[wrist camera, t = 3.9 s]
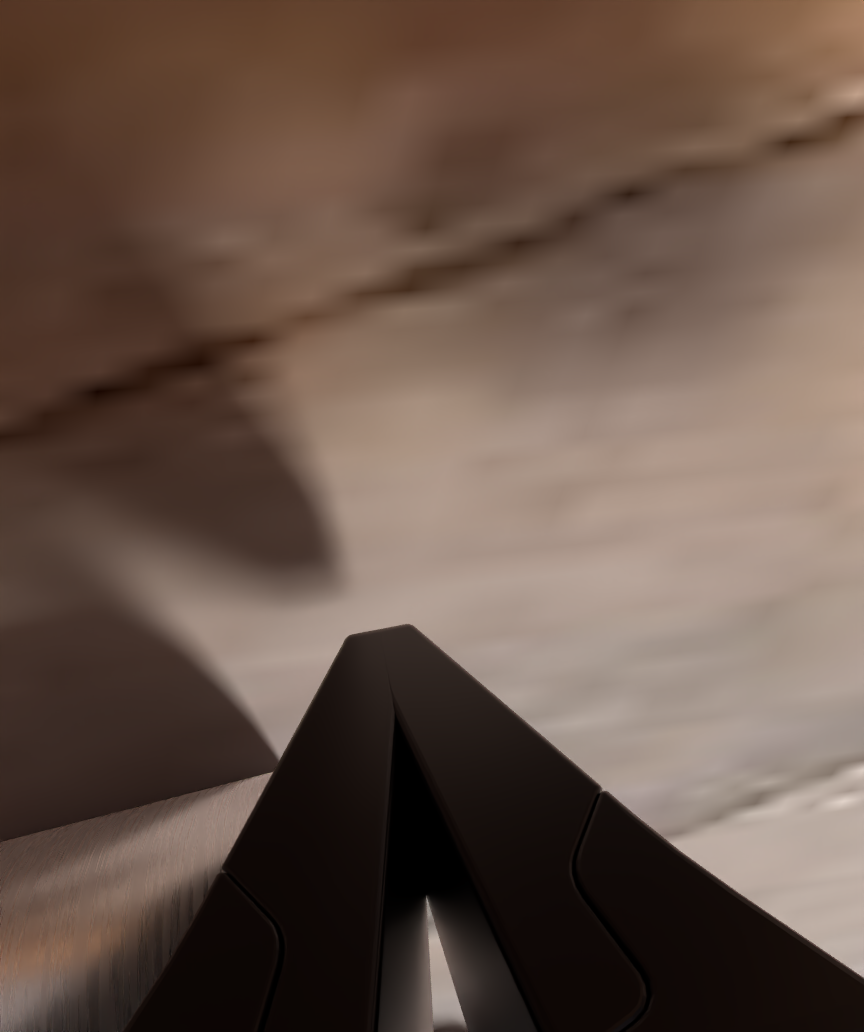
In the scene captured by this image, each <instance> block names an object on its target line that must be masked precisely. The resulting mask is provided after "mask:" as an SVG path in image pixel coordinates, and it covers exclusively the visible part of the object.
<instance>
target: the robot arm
mask: <svg viewBox="0 0 864 1032" xmlns="http://www.w3.org/2000/svg"><path fill="white" fill-rule="evenodd" d="M221 870H222V872H221V873H219V874H217V875H216V877H215V879H214V881H213V883H212V885H211V886H210V888H209V890H208V892H207V894H206V896H205V898H204V899H203V901H202V903H201V905H200V907H199V909H198V910H197V912H196V914H195V916H194V917H193V919H192V921H191V922H190V924H189V926H188V928H187V929H186V931H185V933H184V934H183V936H182V938H181V940H180V941H179V943H178V945H177V946H176V948H175V950H174V952H173V953H172V955H171V957H170V958H169V960H168V962H167V964H166V965H165V967H164V968H163V970H162V971H161V973H160V974H159V976H158V977H157V979H156V981H155V982H154V984H153V985H152V987H151V988H150V990H149V991H148V993H147V994H146V996H145V997H144V999H143V1000H142V1002H141V1003H140V1005H139V1006H138V1008H137V1009H136V1011H135V1013H134V1014H133V1016H132V1017H131V1019H130V1020H129V1022H128V1023H127V1025H126V1026H125V1028H124V1029H123V1031H122V1032H434V1031H433V1013H432V994H431V976H430V958H429V939H428V921H427V903H426V896H427V899H428V902H429V905H430V909H431V912H432V915H433V918H434V922H435V925H436V928H437V931H438V935H439V938H440V941H441V944H442V948H443V951H444V954H445V957H446V961H447V964H448V967H449V970H450V974H451V977H452V980H453V983H454V986H455V990H456V993H457V996H458V999H459V1003H460V1006H461V1009H462V1012H463V1016H464V1019H465V1022H466V1025H467V1029H468V1032H864V978H863V977H862V976H860V975H859V974H857V973H856V972H854V971H853V970H851V969H850V968H848V967H847V966H846V965H844V964H843V963H841V962H840V961H838V960H837V959H835V958H834V957H832V956H831V955H829V954H828V953H826V952H825V951H823V950H822V949H820V948H819V947H818V946H816V945H815V944H813V943H812V942H810V941H809V940H807V939H806V938H804V937H803V936H801V935H800V934H798V933H797V932H795V931H794V930H792V929H791V928H790V927H788V926H787V925H785V924H784V923H782V922H781V921H779V920H778V919H776V918H775V917H773V916H772V915H770V914H769V913H767V912H766V911H764V910H763V909H762V908H760V907H759V906H757V905H756V904H754V903H753V902H751V901H750V900H748V899H747V898H745V897H744V896H742V895H741V894H739V893H738V892H737V891H735V890H734V889H732V888H731V887H730V886H728V885H727V884H725V883H724V882H723V881H721V880H720V879H718V878H717V877H716V876H714V875H713V874H711V873H710V872H709V871H707V870H706V869H704V868H703V867H702V866H700V865H699V864H697V863H696V862H695V861H693V860H692V859H690V858H689V857H688V856H686V855H685V854H683V853H682V852H681V851H679V850H678V849H677V848H676V847H674V846H673V845H672V844H671V843H669V842H668V841H667V840H666V839H664V838H663V837H662V836H661V835H659V834H658V833H657V832H656V831H654V830H653V829H652V828H651V827H649V826H648V825H647V824H646V823H644V822H643V821H642V820H641V819H639V818H638V817H637V816H636V815H635V814H633V813H632V812H631V811H630V810H629V809H627V808H626V807H625V806H624V805H623V804H622V803H620V802H619V801H618V800H617V799H616V798H615V797H614V796H612V795H611V794H610V793H609V792H607V791H602V787H601V786H600V785H599V784H598V783H597V782H596V781H594V780H593V779H592V778H591V777H590V776H589V775H587V774H586V773H585V772H584V771H583V770H582V769H580V768H579V767H578V766H577V765H576V764H575V763H573V762H572V761H571V760H570V759H569V758H568V757H566V756H565V755H564V754H563V753H562V752H561V751H559V750H558V749H557V748H556V747H555V746H553V745H552V744H551V743H550V742H549V741H548V740H546V739H545V738H544V737H543V736H542V735H541V734H539V733H538V732H537V731H536V730H535V729H534V728H532V727H531V726H530V725H529V724H528V723H527V722H525V721H524V720H523V719H522V718H521V717H520V716H518V715H517V714H516V713H515V712H514V711H513V710H511V709H510V708H509V707H508V706H507V705H506V704H504V703H503V702H502V701H501V700H500V699H499V698H497V697H496V696H495V695H494V694H493V693H491V692H490V691H489V690H488V689H487V688H486V687H484V686H483V685H482V684H481V683H480V682H479V681H477V680H476V679H475V678H474V677H473V676H472V675H470V674H469V673H468V672H467V671H466V670H465V669H463V668H462V667H461V666H460V665H459V664H458V663H456V662H455V661H454V660H453V659H452V658H451V657H449V656H448V655H447V654H446V653H445V652H444V651H442V650H441V649H440V648H439V647H438V646H437V645H435V644H434V643H433V642H432V641H431V640H430V639H428V638H427V637H426V636H425V635H424V634H422V633H421V632H420V631H419V630H418V629H417V628H415V627H414V626H413V625H410V624H405V625H399V626H394V627H389V628H384V629H379V630H373V631H368V632H363V633H357V634H352V635H349V636H348V637H347V638H346V639H345V641H344V643H343V645H342V647H341V648H340V650H339V652H338V654H337V656H336V658H335V659H334V661H333V663H332V665H331V667H330V669H329V670H328V672H327V674H326V676H325V678H324V680H323V681H322V683H321V685H320V687H319V689H318V691H317V692H316V694H315V696H314V698H313V700H312V702H311V704H310V705H309V707H308V709H307V711H306V713H305V715H304V716H303V718H302V720H301V722H300V724H299V726H298V727H297V729H296V731H295V733H294V735H293V737H292V738H291V740H290V742H289V744H288V746H287V748H286V749H285V751H284V753H283V755H282V757H281V759H280V761H279V762H278V764H277V766H276V768H275V770H274V772H273V773H272V775H271V777H270V779H269V781H268V783H267V784H266V786H265V788H264V790H263V792H262V794H261V795H260V797H259V799H258V801H257V803H256V805H255V806H254V808H253V810H252V812H251V814H250V816H249V817H248V819H247V821H246V823H245V825H244V827H243V828H242V830H241V832H240V834H239V836H238V838H237V840H236V841H235V843H234V845H233V847H232V849H231V851H230V852H229V854H228V856H227V858H226V860H225V862H224V863H223V865H222V868H221Z"/></svg>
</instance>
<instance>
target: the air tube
mask: <svg viewBox="0 0 864 1032" xmlns="http://www.w3.org/2000/svg"><path fill="white" fill-rule="evenodd" d="M272 773H273V772H271V773H267V774H263V775H259V776H255V777H251V778H247V779H243V780H240V781H236V782H232V783H228V784H224V785H220V786H216V787H212V788H209V789H205V790H201V791H197V792H193V793H189V794H185V795H181V796H177V797H174V798H170V799H166V800H162V801H158V802H154V803H150V804H146V805H142V806H139V807H135V808H131V809H127V810H123V811H119V812H115V813H111V814H108V815H104V816H100V817H96V818H92V819H88V820H84V821H80V822H76V823H73V824H69V825H65V826H61V827H57V828H53V829H49V830H45V831H41V832H38V833H34V834H30V835H26V836H22V837H18V838H14V839H10V840H7V841H3V842H0V1032H122V1031H123V1029H124V1028H125V1026H126V1025H127V1023H128V1022H129V1020H130V1019H131V1017H132V1016H133V1014H134V1013H135V1011H136V1009H137V1008H138V1006H139V1005H140V1003H141V1002H142V1000H143V999H144V997H145V996H146V994H147V993H148V991H149V990H150V988H151V987H152V985H153V984H154V982H155V981H156V979H157V977H158V976H159V974H160V973H161V971H162V970H163V968H164V967H165V965H166V964H167V962H168V960H169V958H170V957H171V955H172V953H173V952H174V950H175V948H176V946H177V945H178V943H179V941H180V940H181V938H182V936H183V934H184V933H185V931H186V929H187V928H188V926H189V924H190V922H191V921H192V919H193V917H194V916H195V914H196V912H197V910H198V909H199V907H200V905H201V903H202V901H203V899H204V898H205V896H206V894H207V892H208V890H209V888H210V886H211V885H212V883H213V881H214V879H215V877H216V875H217V874H219V873H221V872H222V870H221V868H222V865H223V863H224V862H225V860H226V858H227V856H228V854H229V852H230V851H231V849H232V847H233V845H234V843H235V841H236V840H237V838H238V836H239V834H240V832H241V830H242V828H243V827H244V825H245V823H246V821H247V819H248V817H249V816H250V814H251V812H252V810H253V808H254V806H255V805H256V803H257V801H258V799H259V797H260V795H261V794H262V792H263V790H264V788H265V786H266V784H267V783H268V781H269V779H270V777H271V775H272Z"/></svg>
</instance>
